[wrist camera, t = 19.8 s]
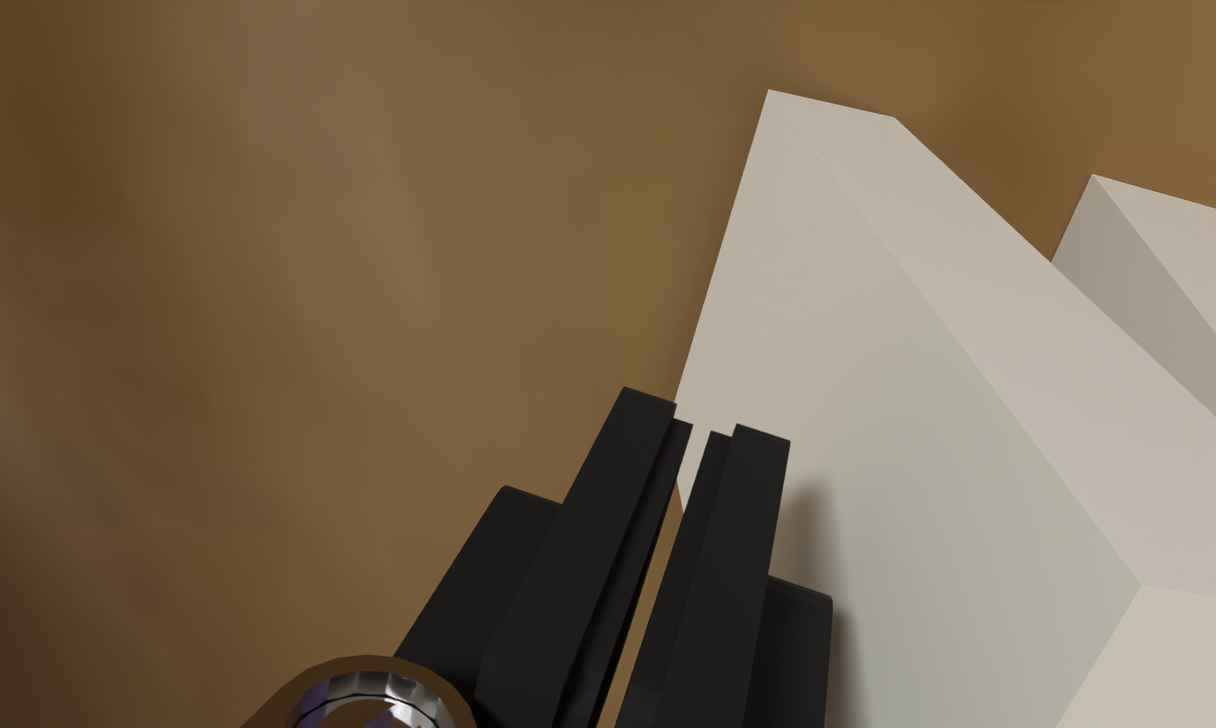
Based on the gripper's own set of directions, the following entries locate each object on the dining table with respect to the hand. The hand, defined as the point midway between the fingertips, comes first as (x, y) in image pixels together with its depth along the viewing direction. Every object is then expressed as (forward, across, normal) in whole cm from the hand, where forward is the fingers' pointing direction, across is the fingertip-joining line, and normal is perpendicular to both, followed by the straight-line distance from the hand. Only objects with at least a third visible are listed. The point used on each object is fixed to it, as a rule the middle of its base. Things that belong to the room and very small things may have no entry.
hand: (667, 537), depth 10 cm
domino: (+8, 0, 0) cm, 8 cm away
